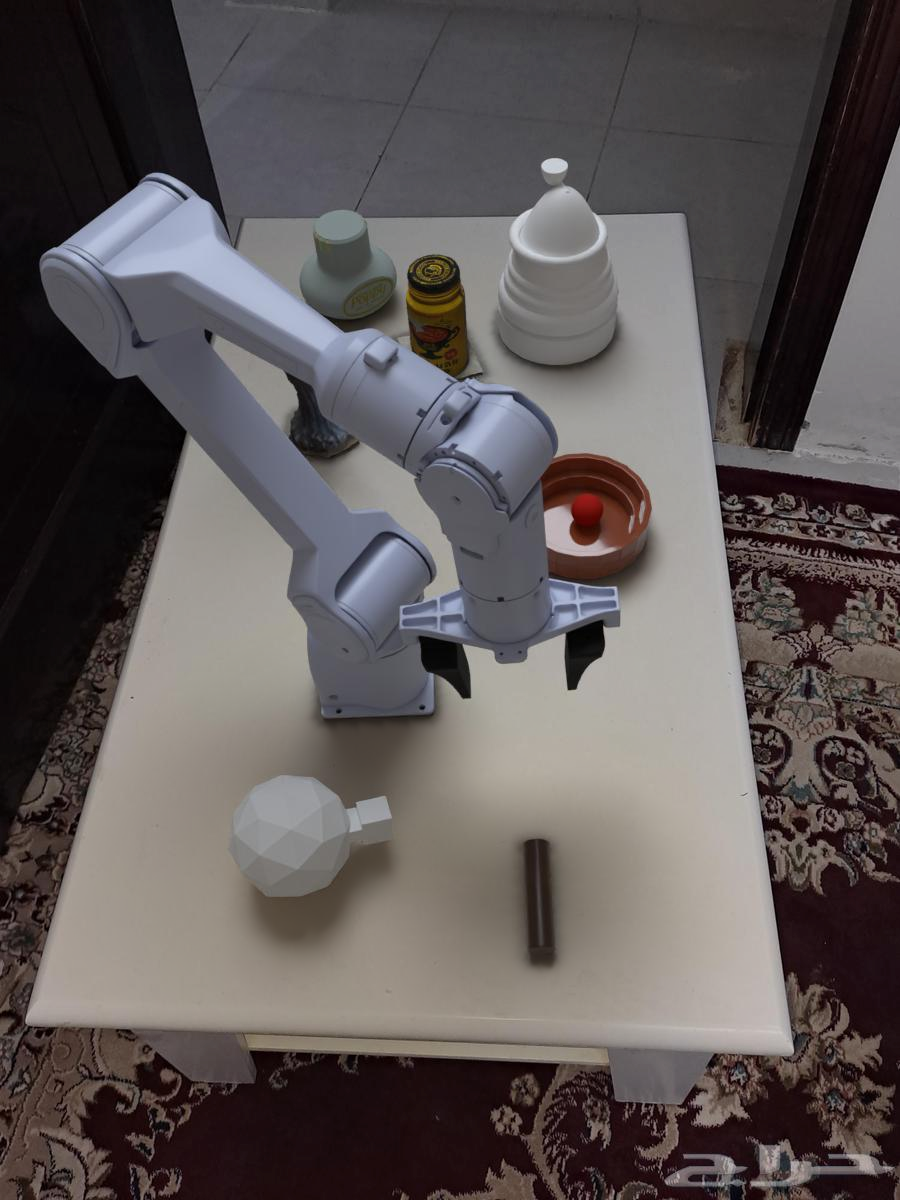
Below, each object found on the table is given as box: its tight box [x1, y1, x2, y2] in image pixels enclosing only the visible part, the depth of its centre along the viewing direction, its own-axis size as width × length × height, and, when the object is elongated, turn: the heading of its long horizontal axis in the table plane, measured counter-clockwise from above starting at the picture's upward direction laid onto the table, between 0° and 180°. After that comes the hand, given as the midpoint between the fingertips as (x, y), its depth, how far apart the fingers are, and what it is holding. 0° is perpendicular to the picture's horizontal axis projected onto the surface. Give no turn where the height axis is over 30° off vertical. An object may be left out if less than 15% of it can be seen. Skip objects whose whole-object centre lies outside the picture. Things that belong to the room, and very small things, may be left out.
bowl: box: [540, 452, 653, 580], centre depth 92 cm, size 12×12×4 cm
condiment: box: [396, 253, 484, 380], centre depth 103 cm, size 7×8×12 cm
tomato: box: [571, 494, 603, 526], centre depth 92 cm, size 3×3×3 cm
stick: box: [522, 838, 557, 955], centre depth 73 cm, size 2×2×8 cm
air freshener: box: [298, 209, 398, 320], centre depth 110 cm, size 11×8×10 cm
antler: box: [283, 371, 359, 459], centre depth 92 cm, size 12×8×25 cm
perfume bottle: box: [228, 774, 394, 898], centre depth 74 cm, size 9×9×12 cm
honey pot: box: [497, 157, 620, 366], centre depth 103 cm, size 13×13×18 cm
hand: (518, 682), depth 73 cm, fingers open, 7 cm apart
